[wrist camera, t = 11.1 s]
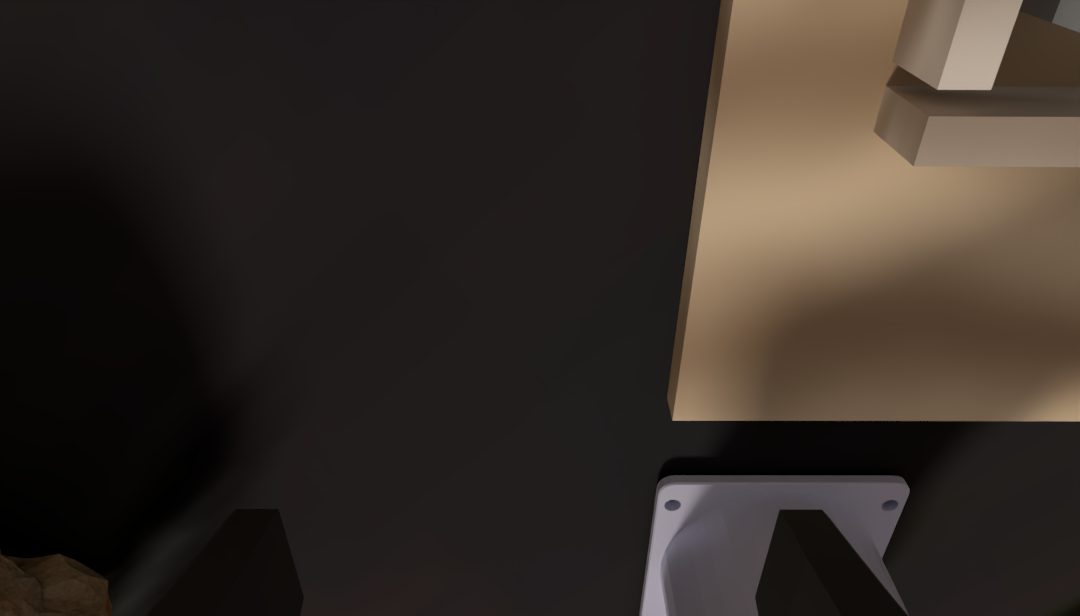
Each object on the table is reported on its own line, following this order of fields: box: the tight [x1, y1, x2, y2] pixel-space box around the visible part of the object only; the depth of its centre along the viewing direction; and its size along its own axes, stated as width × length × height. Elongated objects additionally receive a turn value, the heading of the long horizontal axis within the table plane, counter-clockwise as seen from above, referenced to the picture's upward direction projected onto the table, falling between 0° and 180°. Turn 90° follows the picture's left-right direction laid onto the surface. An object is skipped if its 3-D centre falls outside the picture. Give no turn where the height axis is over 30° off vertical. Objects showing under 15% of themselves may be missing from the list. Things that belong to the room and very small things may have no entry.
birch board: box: [667, 0, 1080, 421], centre depth 15 cm, size 18×14×3 cm
